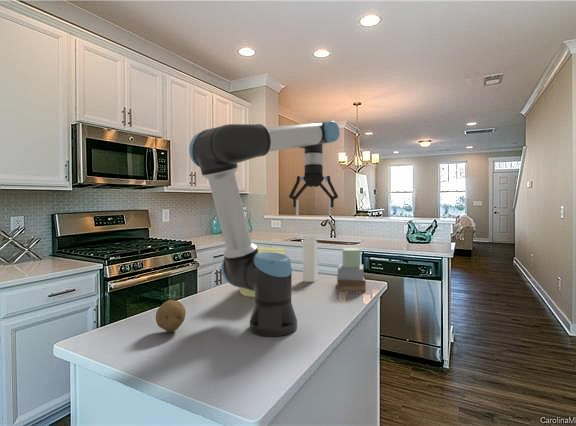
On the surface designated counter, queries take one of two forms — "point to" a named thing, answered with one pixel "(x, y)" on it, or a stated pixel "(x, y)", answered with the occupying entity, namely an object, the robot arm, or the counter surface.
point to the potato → (170, 315)
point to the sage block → (351, 258)
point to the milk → (310, 259)
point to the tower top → (350, 273)
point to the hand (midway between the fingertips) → (313, 215)
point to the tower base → (351, 285)
